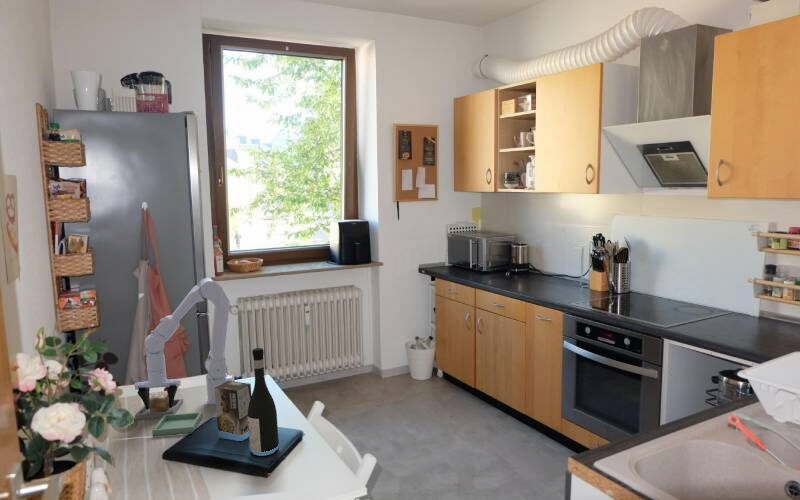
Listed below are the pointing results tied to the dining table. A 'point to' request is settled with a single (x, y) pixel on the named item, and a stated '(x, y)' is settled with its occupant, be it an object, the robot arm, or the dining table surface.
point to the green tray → (177, 424)
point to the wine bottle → (261, 410)
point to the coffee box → (233, 407)
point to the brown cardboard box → (159, 403)
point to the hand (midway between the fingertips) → (159, 407)
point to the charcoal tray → (146, 413)
